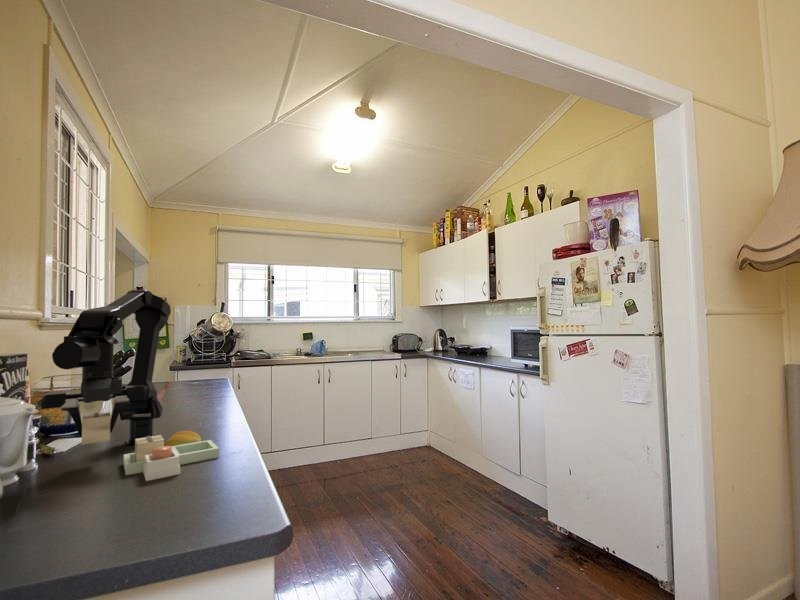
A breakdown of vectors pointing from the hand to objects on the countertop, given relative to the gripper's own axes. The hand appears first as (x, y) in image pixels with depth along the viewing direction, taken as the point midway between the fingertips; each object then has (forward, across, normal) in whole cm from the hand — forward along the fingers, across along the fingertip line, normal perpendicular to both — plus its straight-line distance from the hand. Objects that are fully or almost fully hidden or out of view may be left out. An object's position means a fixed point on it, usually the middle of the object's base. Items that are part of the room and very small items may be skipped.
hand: (96, 434), depth 92 cm
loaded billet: (+6, +10, -9) cm, 15 cm away
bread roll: (+7, +18, +3) cm, 20 cm away
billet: (+1, 0, 0) cm, 1 cm away
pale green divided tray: (+7, +14, -9) cm, 18 cm away
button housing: (+7, +11, -17) cm, 21 cm away
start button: (+3, +11, -17) cm, 21 cm away
